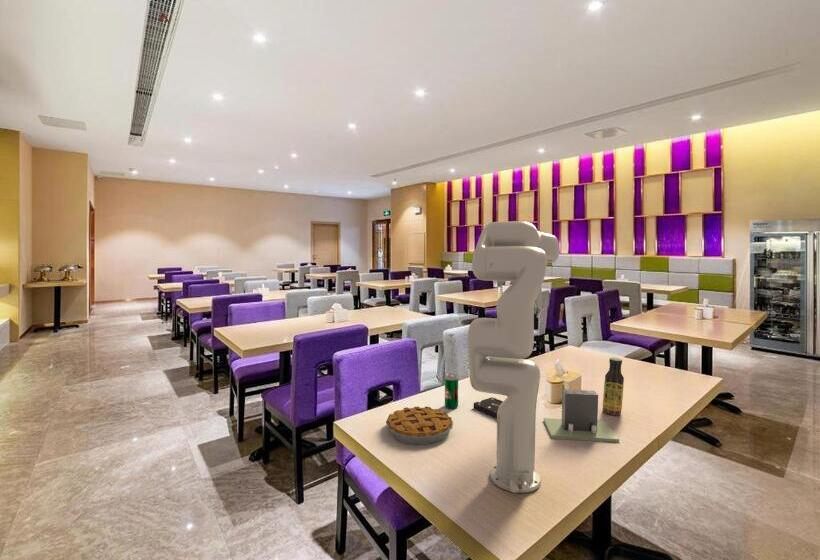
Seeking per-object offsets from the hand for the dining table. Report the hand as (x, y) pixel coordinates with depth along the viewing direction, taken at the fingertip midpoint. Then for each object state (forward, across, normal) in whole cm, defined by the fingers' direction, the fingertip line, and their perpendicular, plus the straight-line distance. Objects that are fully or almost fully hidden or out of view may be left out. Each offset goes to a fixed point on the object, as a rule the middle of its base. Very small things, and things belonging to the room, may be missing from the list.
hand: (531, 326), depth 138 cm
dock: (+33, -6, -15) cm, 37 cm away
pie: (+33, -14, +37) cm, 51 cm away
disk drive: (+33, +6, +11) cm, 36 cm away
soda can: (+33, +7, +28) cm, 43 cm away
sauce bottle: (+33, +11, -30) cm, 46 cm away
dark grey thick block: (+32, -7, -15) cm, 36 cm away
